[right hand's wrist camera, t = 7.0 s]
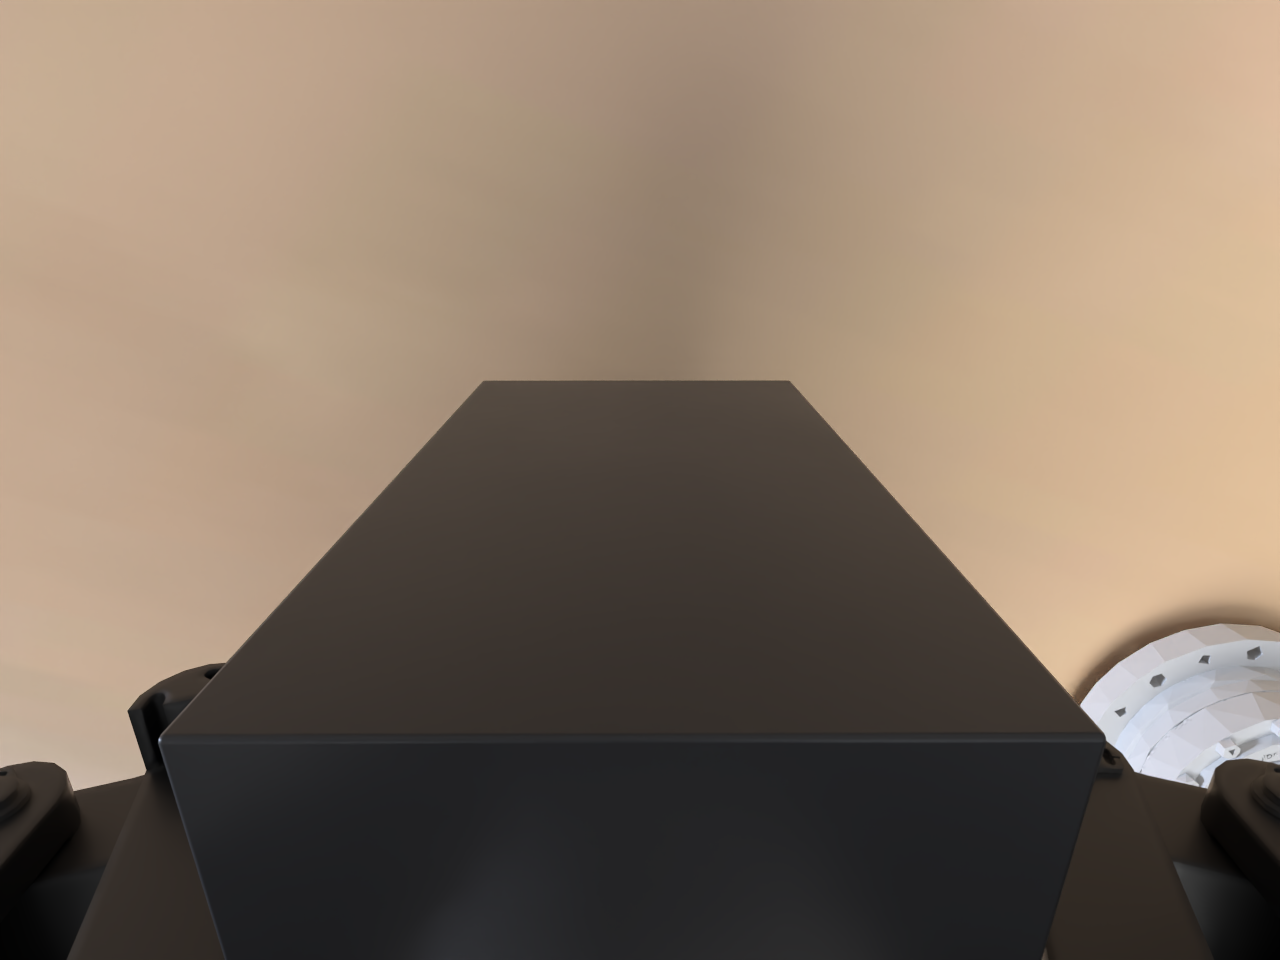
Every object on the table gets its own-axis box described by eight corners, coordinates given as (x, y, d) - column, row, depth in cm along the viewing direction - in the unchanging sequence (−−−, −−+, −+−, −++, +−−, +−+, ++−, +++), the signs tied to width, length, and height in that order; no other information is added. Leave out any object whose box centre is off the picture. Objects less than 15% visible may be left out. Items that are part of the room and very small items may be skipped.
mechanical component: (1034, 816, 30) (1265, 822, 30) (1098, 914, 26) (1366, 921, 26) (1097, 614, 26) (1360, 622, 26) (1183, 690, 22) (1494, 699, 22)
